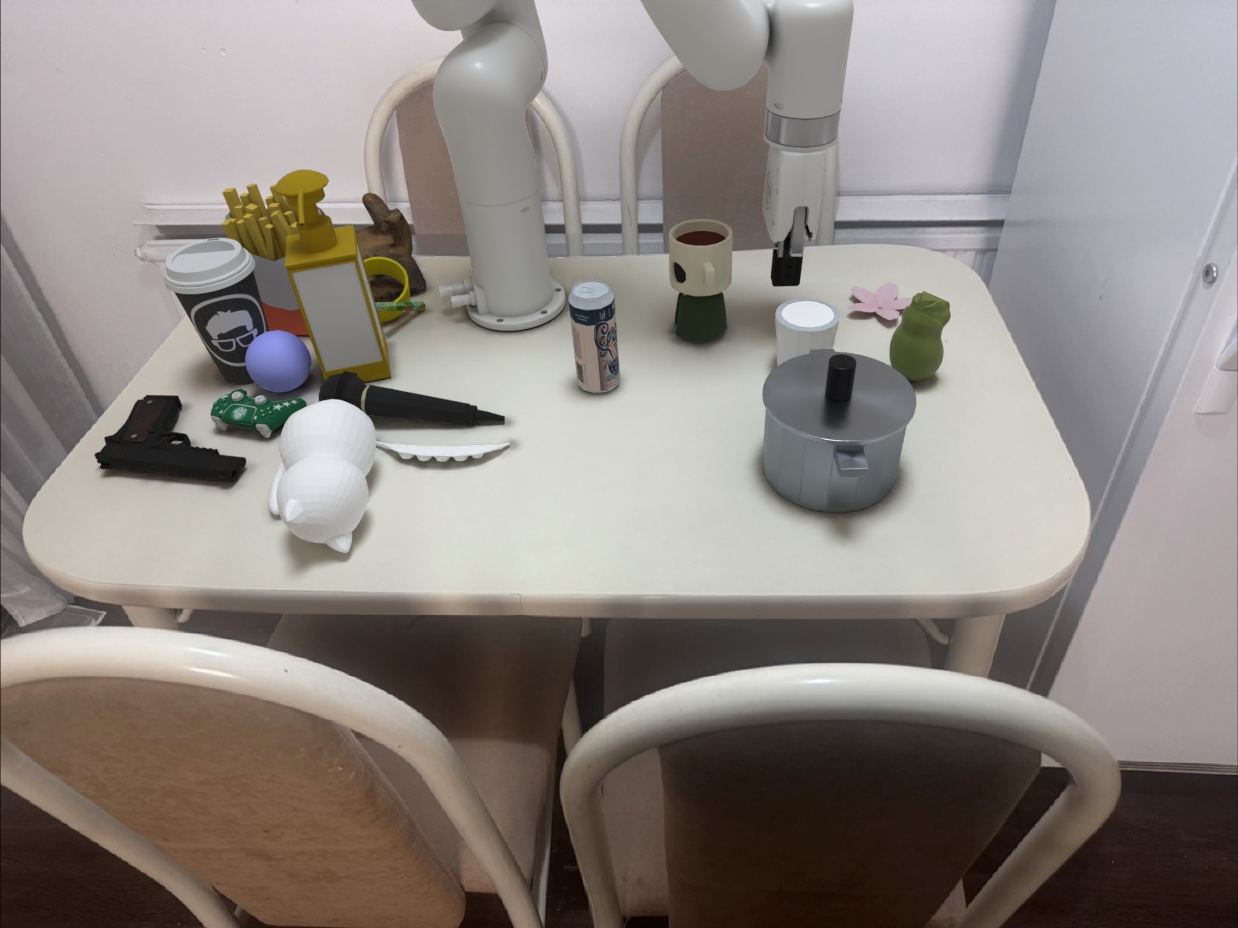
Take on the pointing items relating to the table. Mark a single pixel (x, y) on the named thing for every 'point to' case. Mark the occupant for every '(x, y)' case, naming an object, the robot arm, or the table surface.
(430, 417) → the microphone
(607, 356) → the beer can
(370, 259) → the bracelet
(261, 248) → the french fries container
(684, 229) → the character mug
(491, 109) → the robot arm
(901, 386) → the pot lid
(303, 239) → the soap bottle
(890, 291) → the flower
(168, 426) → the pistol
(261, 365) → the sphere
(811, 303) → the white short cylinder
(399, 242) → the figurine
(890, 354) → the pear
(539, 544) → the table surface
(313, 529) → the cat figurine
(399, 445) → the pea pod
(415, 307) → the pencil
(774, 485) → the pot
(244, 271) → the coffee cup
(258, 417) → the gaming controller
